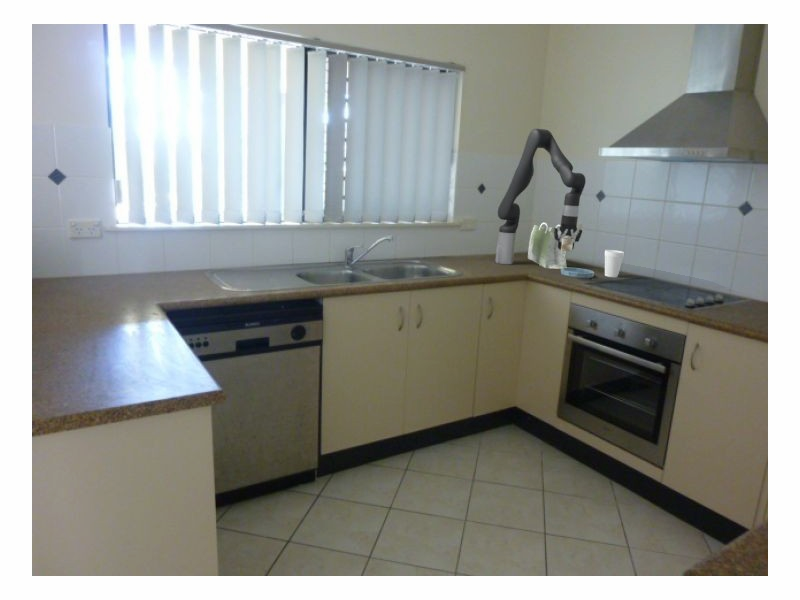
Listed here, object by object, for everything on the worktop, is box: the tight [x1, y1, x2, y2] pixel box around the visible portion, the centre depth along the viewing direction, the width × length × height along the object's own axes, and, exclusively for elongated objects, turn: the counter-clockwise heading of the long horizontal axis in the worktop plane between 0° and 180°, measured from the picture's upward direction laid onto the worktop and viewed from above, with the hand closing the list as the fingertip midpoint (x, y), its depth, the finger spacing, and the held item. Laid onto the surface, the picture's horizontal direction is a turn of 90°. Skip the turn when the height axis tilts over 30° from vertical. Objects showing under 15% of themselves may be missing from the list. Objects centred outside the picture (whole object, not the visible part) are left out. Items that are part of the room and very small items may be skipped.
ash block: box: [561, 237, 573, 252], centre depth 278 cm, size 5×5×6 cm
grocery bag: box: [527, 221, 570, 270], centre depth 322 cm, size 32×14×23 cm, turn 6°
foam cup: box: [604, 249, 625, 278], centre depth 294 cm, size 10×9×13 cm
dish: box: [560, 267, 595, 279], centre depth 292 cm, size 16×16×2 cm
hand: (565, 249), depth 278 cm, fingers closed on ash block, 5 cm apart
